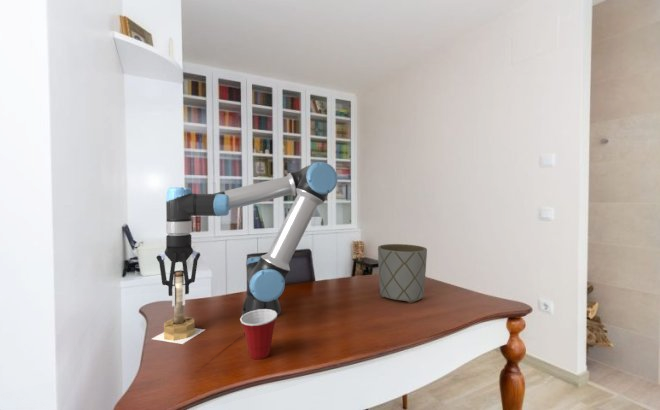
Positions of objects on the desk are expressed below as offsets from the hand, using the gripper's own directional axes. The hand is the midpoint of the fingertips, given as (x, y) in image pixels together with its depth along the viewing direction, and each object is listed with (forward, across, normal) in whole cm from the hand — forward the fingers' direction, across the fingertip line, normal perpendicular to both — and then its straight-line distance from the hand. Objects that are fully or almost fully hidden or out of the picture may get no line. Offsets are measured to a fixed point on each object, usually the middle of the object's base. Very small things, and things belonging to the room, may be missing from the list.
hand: (178, 304), depth 105 cm
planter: (+11, -96, -7) cm, 97 cm away
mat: (+11, 0, 0) cm, 11 cm away
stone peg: (+7, 0, 0) cm, 7 cm away
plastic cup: (+11, -22, +22) cm, 33 cm away
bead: (+10, 0, 0) cm, 10 cm away
